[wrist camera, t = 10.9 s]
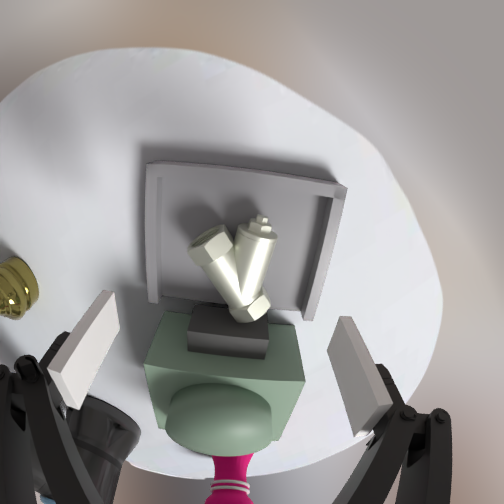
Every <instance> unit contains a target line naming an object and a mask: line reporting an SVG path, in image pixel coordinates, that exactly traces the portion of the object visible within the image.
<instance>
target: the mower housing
mask: <svg viewBox="0 0 504 504" xmlns="http://www.w3.org/2000/svg"><path fill="white" fill-rule="evenodd" d="M144 369H145V374H146V379H147V383H148V388H149V392H150V397H151V401H152V405H153V409H154V413H155V417H156V420H157V424H158V428H160V429H165V430H166V433H167V434H168V436H169V437H170V438H171V439H172V440H174V441H175V442H176V443H178V444H179V445H181V446H183V447H185V448H187V449H190V450H193V451H196V452H199V453H203V454H208V455H214V456H242V455H248V454H252V453H255V452H258V451H260V450H262V449H264V448H266V447H267V446H268V445H269V444H270V443H271V441H278V440H279V438H280V436H281V434H282V432H283V430H284V428H285V426H286V424H287V422H288V420H289V418H290V416H291V413H292V411H293V409H294V407H295V405H296V402H297V400H298V398H299V396H300V393H301V391H302V389H303V386H304V384H305V382H306V381H305V376H304V371H303V366H302V360H301V355H300V350H299V345H298V340H297V335H296V330H295V325H282V324H270V323H268V320H267V313H266V312H265V313H264V314H263V315H262V316H261V317H260V318H258V319H257V320H255V321H252V322H248V323H239V322H236V320H235V319H234V318H233V316H232V315H231V313H230V312H229V309H227V308H219V307H211V306H203V305H195V306H194V309H193V312H192V315H190V314H183V313H176V312H169V311H165V312H164V315H163V317H162V319H161V322H160V324H159V326H158V329H157V331H156V334H155V336H154V339H153V341H152V344H151V346H150V349H149V351H148V354H147V356H146V359H145V361H144Z"/></svg>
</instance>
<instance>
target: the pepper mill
mask: <svg viewBox="0 0 504 504" xmlns="http://www.w3.org/2000/svg"><path fill="white" fill-rule="evenodd" d="M253 454H254V453H252V454H248V455H242V456H214V455H212V458H213V461H214V465H215V477H214V481H213V482H211V483H210V485H211V488H210V491H211V492H212V495H210V496H209V497H208V498H207V499H206V501H205V504H253V502H252V501H251V499H250V498H248V496H247V495H248V494H249V493H250V491H249V487H250V485H249V484H248V483H247V482H246V471H247V467H248V464H249V462H250V459H251V457H252V456H253Z"/></svg>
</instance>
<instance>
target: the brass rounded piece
mask: <svg viewBox="0 0 504 504" xmlns="http://www.w3.org/2000/svg"><path fill="white" fill-rule="evenodd" d="M38 296H39V290H38V285H37V282H36V279H35V277H34V275H33V273H32V271H31V270H30V269H29V267H28V266H27V265H26V264H25V263H24V262H23V261H22V260H20V259H19V258H16V257H9V258H8V259H7V260H5V261H4V262H2V263H0V316H4V317H7V318H9V319H12V320H20V319H21V318H22V317H23V316H24V314H25V312H26V311H28V310H30V308H31V307H32V306H33V305H34V304H35V303H36V301H37V300H38Z"/></svg>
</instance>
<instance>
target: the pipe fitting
mask: <svg viewBox="0 0 504 504" xmlns="http://www.w3.org/2000/svg"><path fill="white" fill-rule="evenodd" d="M267 221H268V217H267V216H264V215H260V214H257V217H256V218H251V219H250V221H249V223H241V224H239V225H238V228H237V232H236V236H235V239H234V241H233V237H232V235H231V234H230V232H229V231H228V229H227V227H226V226H225V224H224V225H217V226H215V227H213V228H210V229H209V230H207V231H205V232H204V233H202V234H201V235H199V236H198V237H197V238H195V239H194V240H193V241H192V242H191V243H190V244H189V246H188V249H187V253H188V255H189V256H190V258H191V259H192V260H193V262H194V263H195V265H196V266H201V268H202V269H203V270H204V272H205V273H206V275H207V276H208V278H209V279H210V280H211V282H212V283H213V285H214V286H215V287H216V289H217V290H218V292H219V293H220V294H221V296H222V297H223V299H224V300H225V301H226V303H227V304H228V306H229V312H230V313H231V315H232V316H233V318H234V319H235V320H236V322H239V323H248V322H252V321H255V320H257V319H258V318H260V317H261V316H262V315H263V314H264V313H265V312H266V311H267V310H268V309H269V308H270V306H271V302H270V298H269V295H268V293H267V292H266V290H265V288H264V287H263V285H262V284H263V281H264V278H265V275H266V272H267V269H268V266H269V263H270V260H271V257H272V254H273V251H274V248H275V245H276V242H277V239H278V236H277V234H276V233H275V232H273V231H271V228H272V226H271V224H270V223H268V222H267Z"/></svg>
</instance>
